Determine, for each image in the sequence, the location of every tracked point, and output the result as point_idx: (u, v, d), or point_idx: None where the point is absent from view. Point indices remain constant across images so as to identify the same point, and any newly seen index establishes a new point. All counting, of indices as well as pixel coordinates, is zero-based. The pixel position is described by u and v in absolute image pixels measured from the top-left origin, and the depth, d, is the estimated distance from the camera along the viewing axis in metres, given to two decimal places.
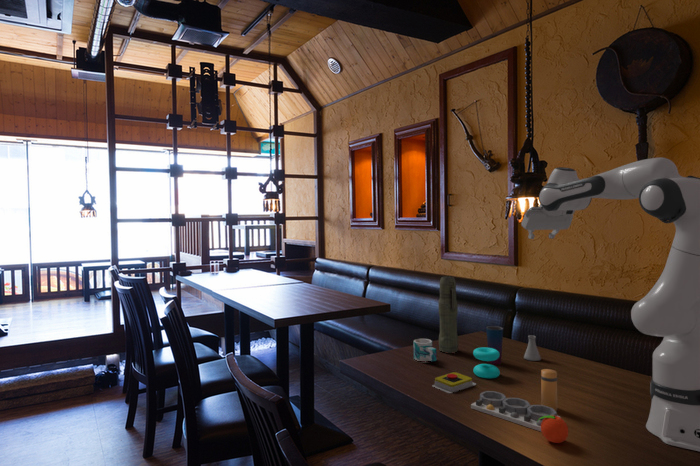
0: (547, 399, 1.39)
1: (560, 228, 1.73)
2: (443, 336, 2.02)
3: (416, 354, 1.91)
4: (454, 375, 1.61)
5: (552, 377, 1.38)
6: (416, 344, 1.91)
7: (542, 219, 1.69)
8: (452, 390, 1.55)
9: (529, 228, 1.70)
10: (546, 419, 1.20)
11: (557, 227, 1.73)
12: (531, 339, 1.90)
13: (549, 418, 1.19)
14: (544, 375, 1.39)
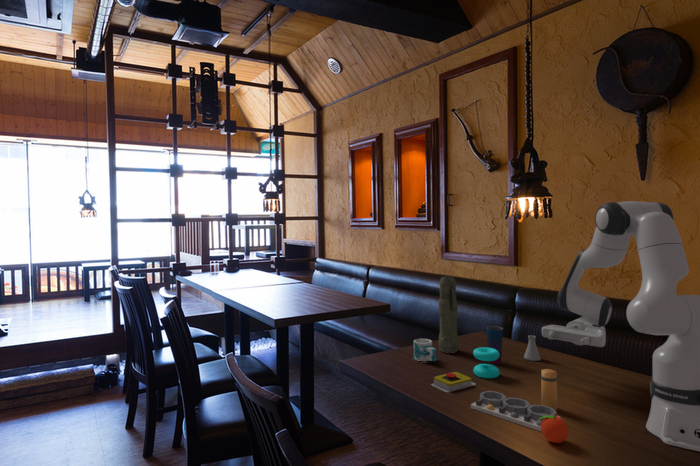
0: (547, 399, 1.39)
1: (589, 334, 1.49)
2: (443, 336, 2.02)
3: (416, 354, 1.91)
4: (453, 374, 1.62)
5: (552, 377, 1.38)
6: (416, 344, 1.91)
7: (563, 328, 1.58)
8: (449, 389, 1.56)
9: (546, 327, 1.59)
10: (546, 419, 1.20)
11: (584, 333, 1.50)
12: (531, 339, 1.90)
13: (549, 418, 1.19)
14: (544, 375, 1.39)
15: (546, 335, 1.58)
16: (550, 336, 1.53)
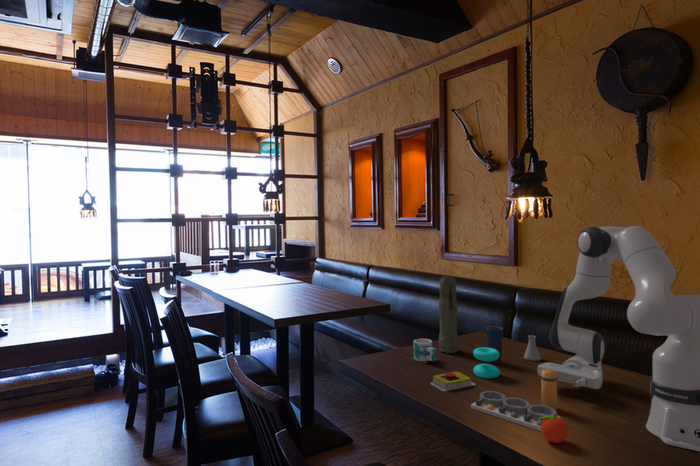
0: (547, 399, 1.39)
1: (585, 375, 1.46)
2: (443, 336, 2.02)
3: (416, 354, 1.91)
4: (452, 374, 1.62)
5: (552, 377, 1.38)
6: (416, 344, 1.91)
7: (560, 367, 1.56)
8: (447, 388, 1.57)
9: (542, 366, 1.57)
10: (546, 419, 1.20)
11: (580, 374, 1.48)
12: (531, 339, 1.90)
13: (549, 418, 1.19)
14: (544, 375, 1.39)
15: None
16: None
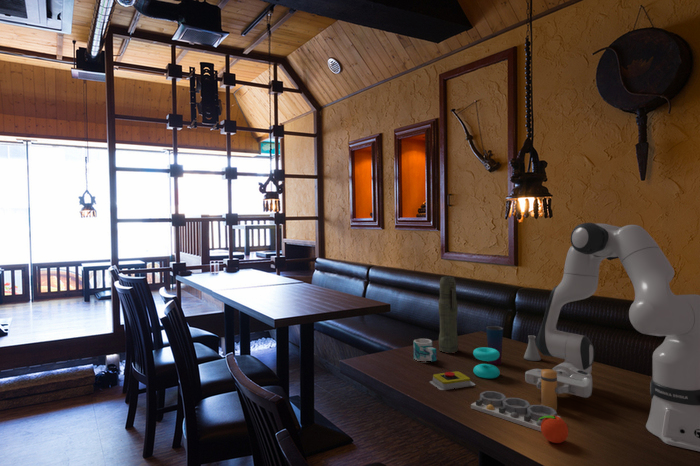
0: (547, 399, 1.39)
1: (574, 383, 1.39)
2: (443, 336, 2.02)
3: (416, 354, 1.91)
4: (452, 373, 1.63)
5: (552, 377, 1.38)
6: (416, 344, 1.91)
7: None
8: (444, 387, 1.58)
9: (529, 372, 1.50)
10: (546, 419, 1.20)
11: (569, 381, 1.41)
12: (531, 339, 1.90)
13: (549, 418, 1.19)
14: (544, 375, 1.39)
15: (529, 381, 1.49)
16: (538, 385, 1.42)
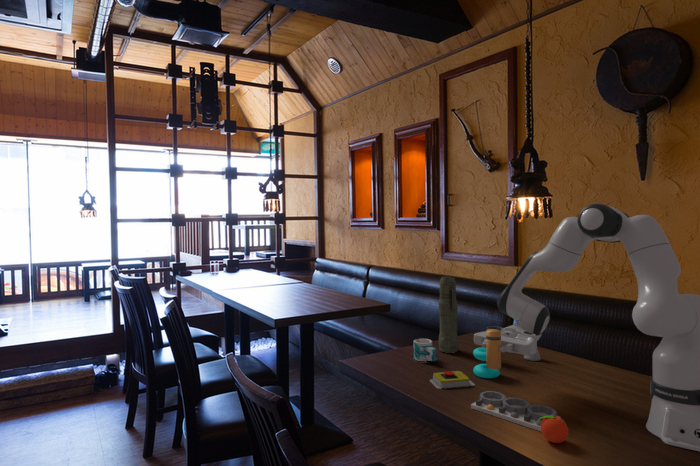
0: (491, 358, 1.42)
1: (517, 342, 1.42)
2: (443, 336, 2.02)
3: (416, 354, 1.91)
4: (451, 373, 1.64)
5: (496, 336, 1.41)
6: (416, 344, 1.91)
7: None
8: (442, 386, 1.59)
9: (478, 334, 1.53)
10: (546, 419, 1.20)
11: (513, 341, 1.44)
12: None
13: (549, 418, 1.19)
14: (488, 334, 1.42)
15: (477, 342, 1.52)
16: (483, 344, 1.45)
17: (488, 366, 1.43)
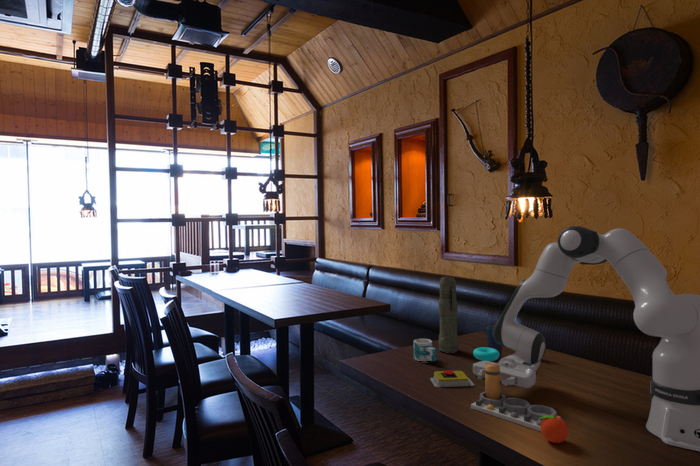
0: (490, 393, 1.42)
1: (516, 374, 1.42)
2: (443, 336, 2.02)
3: (416, 354, 1.91)
4: (451, 372, 1.65)
5: (494, 371, 1.41)
6: (416, 344, 1.91)
7: None
8: (439, 384, 1.61)
9: (477, 364, 1.53)
10: (546, 419, 1.20)
11: (512, 372, 1.44)
12: None
13: (549, 418, 1.19)
14: (487, 369, 1.43)
15: (476, 372, 1.52)
16: (479, 375, 1.46)
17: None
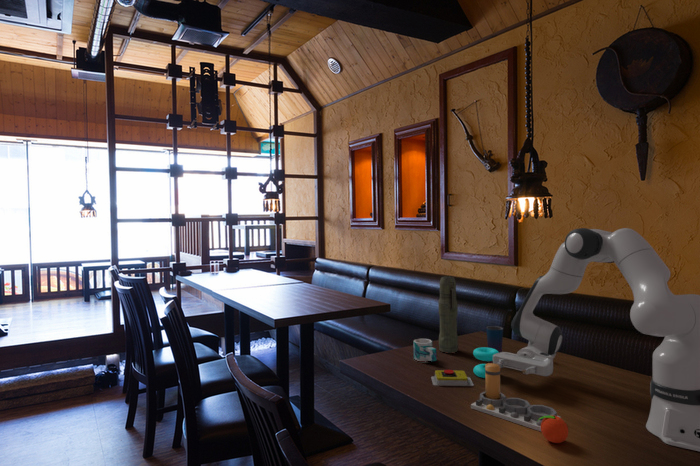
0: (490, 393, 1.42)
1: (535, 363, 1.51)
2: (443, 336, 2.02)
3: (416, 354, 1.91)
4: (450, 371, 1.66)
5: (495, 371, 1.41)
6: (416, 344, 1.91)
7: (513, 356, 1.61)
8: (438, 383, 1.62)
9: (496, 355, 1.62)
10: (546, 419, 1.20)
11: (531, 362, 1.53)
12: None
13: (549, 418, 1.19)
14: (487, 369, 1.42)
15: (496, 363, 1.61)
16: (498, 364, 1.55)
17: None
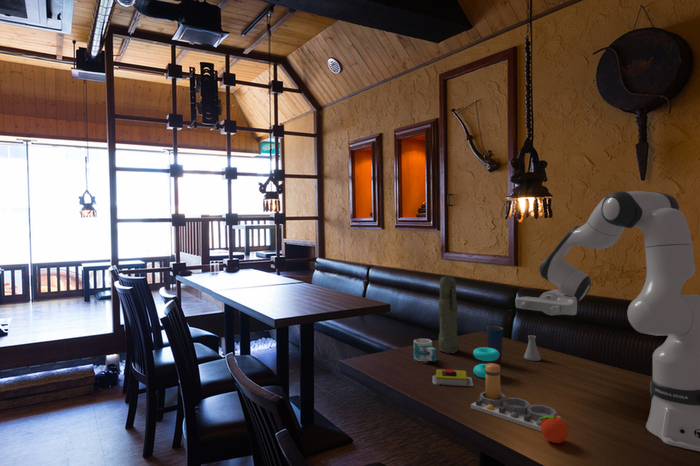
0: (490, 393, 1.42)
1: (559, 303, 1.51)
2: (443, 336, 2.02)
3: (416, 354, 1.91)
4: (451, 371, 1.66)
5: (495, 371, 1.41)
6: (416, 344, 1.91)
7: (536, 299, 1.61)
8: (437, 382, 1.64)
9: (519, 298, 1.62)
10: (546, 419, 1.20)
11: (555, 302, 1.53)
12: (531, 339, 1.90)
13: (549, 418, 1.19)
14: (487, 369, 1.42)
15: (519, 306, 1.61)
16: (522, 305, 1.56)
17: None
